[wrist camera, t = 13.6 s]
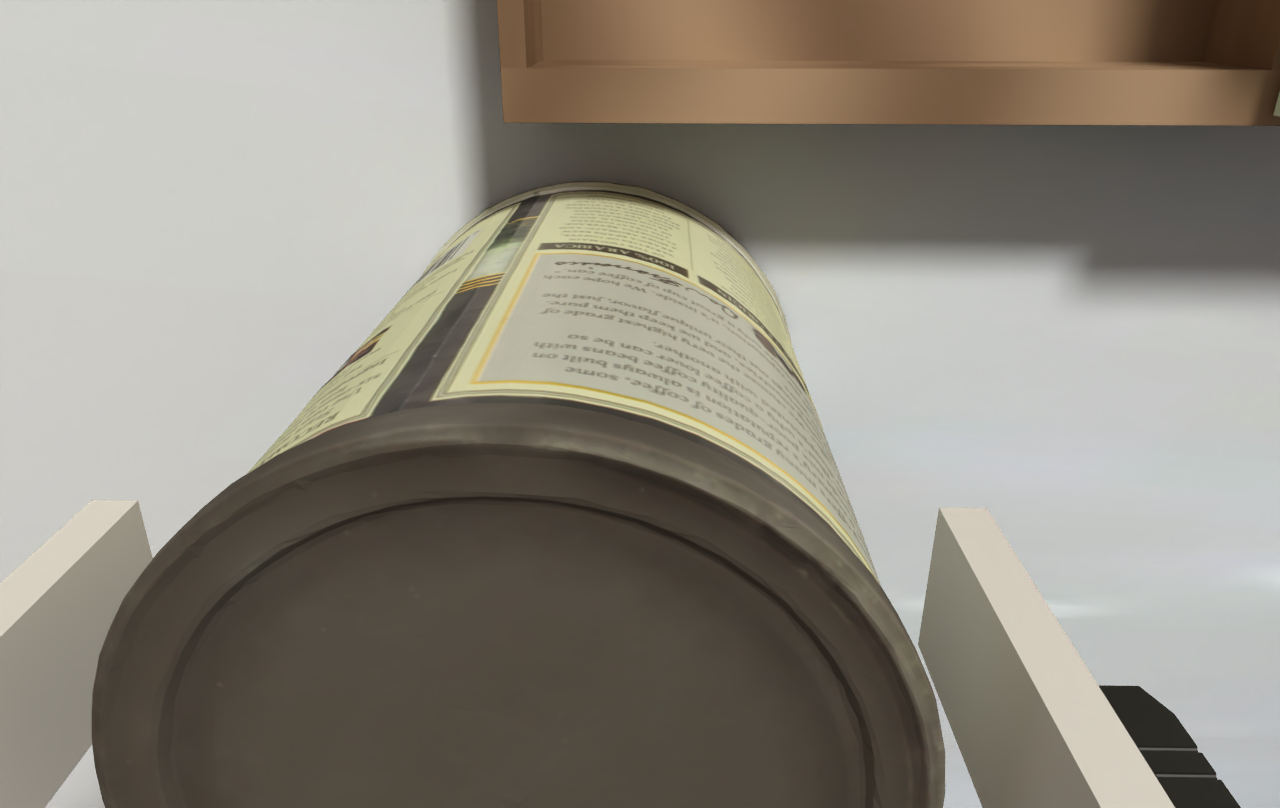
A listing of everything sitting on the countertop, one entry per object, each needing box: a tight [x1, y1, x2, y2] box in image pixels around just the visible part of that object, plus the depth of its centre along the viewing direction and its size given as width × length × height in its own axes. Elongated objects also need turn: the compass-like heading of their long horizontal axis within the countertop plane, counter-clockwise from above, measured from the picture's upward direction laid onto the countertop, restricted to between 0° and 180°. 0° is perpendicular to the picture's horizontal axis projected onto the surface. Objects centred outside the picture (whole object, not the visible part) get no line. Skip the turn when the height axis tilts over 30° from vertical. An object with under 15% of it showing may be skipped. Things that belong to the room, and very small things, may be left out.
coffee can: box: [91, 182, 945, 808], centre depth 18 cm, size 10×10×14 cm
